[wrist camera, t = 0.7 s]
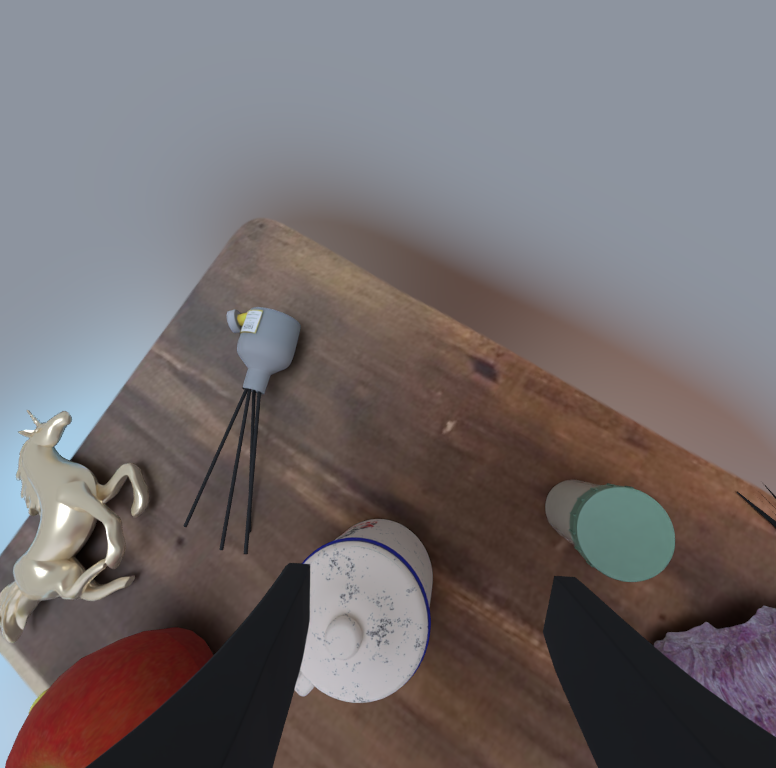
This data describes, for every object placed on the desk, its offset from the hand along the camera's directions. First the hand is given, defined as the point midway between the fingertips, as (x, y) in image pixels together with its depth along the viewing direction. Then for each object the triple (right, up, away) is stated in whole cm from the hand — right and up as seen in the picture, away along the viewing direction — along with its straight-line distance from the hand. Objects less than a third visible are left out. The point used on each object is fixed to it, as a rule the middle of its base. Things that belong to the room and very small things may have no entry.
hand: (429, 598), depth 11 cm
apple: (-18, -18, +22) cm, 33 cm away
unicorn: (-23, -9, +22) cm, 33 cm away
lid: (+12, -2, +11) cm, 16 cm away
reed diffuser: (-13, +3, +24) cm, 28 cm away
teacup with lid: (-3, -10, +20) cm, 23 cm away
